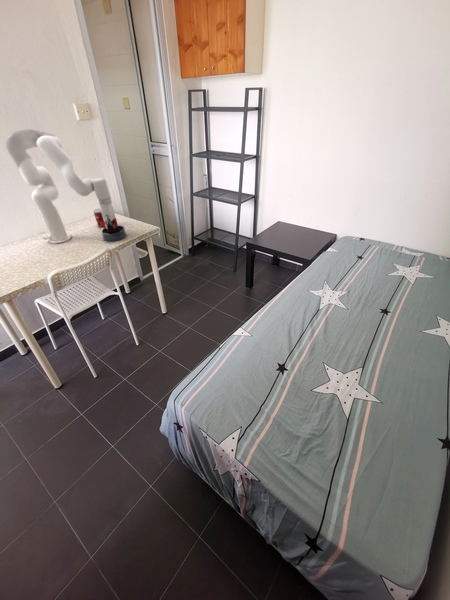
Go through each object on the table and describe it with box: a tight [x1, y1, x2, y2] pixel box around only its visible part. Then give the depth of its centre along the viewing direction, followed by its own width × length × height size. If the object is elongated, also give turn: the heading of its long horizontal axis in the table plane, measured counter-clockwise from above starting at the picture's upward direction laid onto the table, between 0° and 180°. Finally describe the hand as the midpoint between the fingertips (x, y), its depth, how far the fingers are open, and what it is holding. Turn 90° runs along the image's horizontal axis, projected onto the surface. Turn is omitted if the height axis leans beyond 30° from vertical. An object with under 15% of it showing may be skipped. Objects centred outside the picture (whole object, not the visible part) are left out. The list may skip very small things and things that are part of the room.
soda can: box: [104, 216, 120, 234], centre depth 177 cm, size 7×7×12 cm
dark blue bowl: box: [101, 224, 127, 242], centre depth 179 cm, size 14×14×5 cm
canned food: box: [93, 207, 106, 229], centre depth 194 cm, size 8×8×11 cm
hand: (113, 228), depth 177 cm, fingers open, 9 cm apart
